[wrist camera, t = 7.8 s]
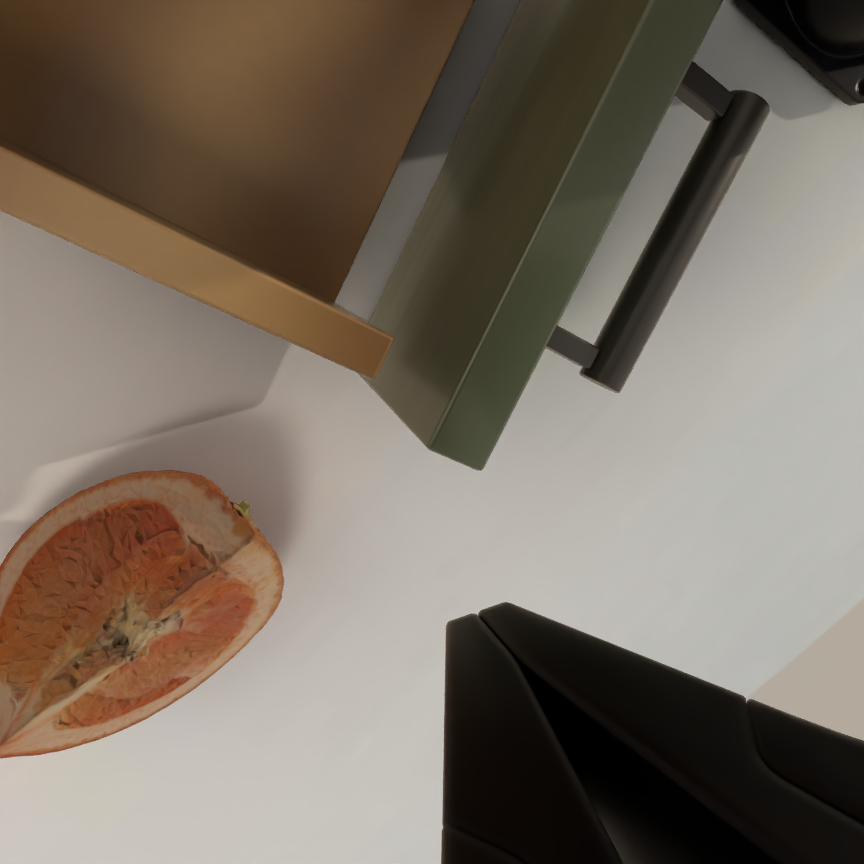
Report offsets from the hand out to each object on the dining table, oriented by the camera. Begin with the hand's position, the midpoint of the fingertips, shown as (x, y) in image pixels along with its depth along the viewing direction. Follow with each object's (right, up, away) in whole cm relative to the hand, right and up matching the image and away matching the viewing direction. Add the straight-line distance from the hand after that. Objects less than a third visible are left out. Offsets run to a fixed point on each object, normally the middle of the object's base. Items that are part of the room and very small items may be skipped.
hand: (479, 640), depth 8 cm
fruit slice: (-9, -1, +12) cm, 15 cm away
